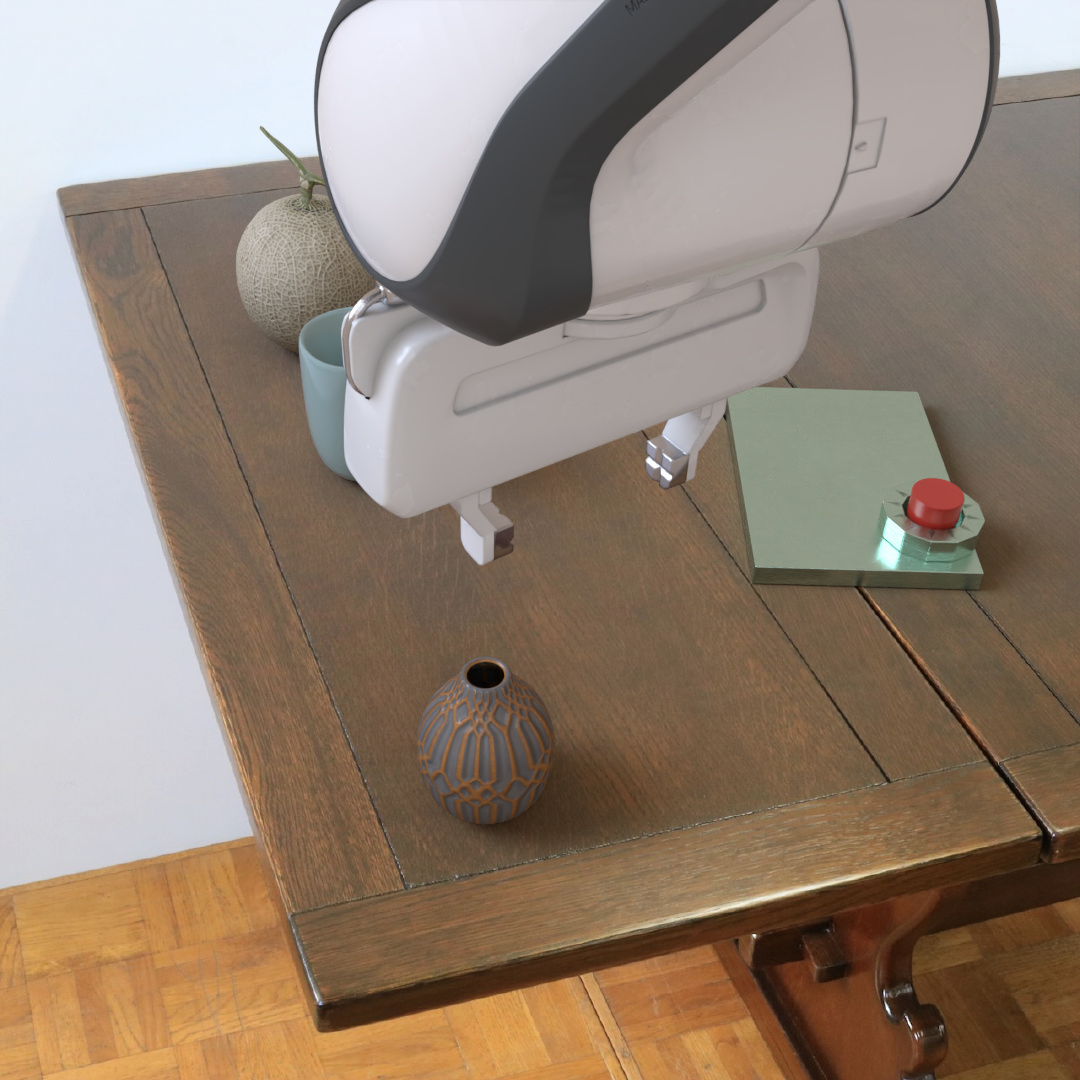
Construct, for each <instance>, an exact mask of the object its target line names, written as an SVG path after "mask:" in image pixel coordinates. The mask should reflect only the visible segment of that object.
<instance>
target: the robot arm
mask: <svg viewBox="0 0 1080 1080" xmlns="http://www.w3.org/2000/svg"><path fill="white" fill-rule="evenodd" d="M1000 63H1001V29H1000V17H999V10H998V4H997V0H339V2H338V4H337V6H336V8H335V10H334V12H333V14H332V15H331V18H330V20H329V23H328V26H327V27H326V30H325V32H324V35H323V38H322V40H321V44H320V46H319V50H318V56H317V60H316V67H315V74H314V87H313V119H314V121H313V122H314V130H315V131H314V132H315V141H316V148H317V154H318V160H319V164H320V170H321V175H322V179H324V183H325V186H324V188H325V190H326V193H327V196H328V197H329V200H330V203H331V206H332V210H333V212H334V215H335V217H336V220H337V222H338V224H339V227H340V229H341V231H342V233H343V235H344V237H345V239H346V241H347V243H348V245H349V247H350V248H351V250H352V252H353V253H354V255H355V256H356V258H357V259H358V261H359V262H360V264H361V265H362V266H363V267H364V269H365V270H366V271H367V272H368V273H369V274H370V275H371V276H372V277H373V278H374V279H375V280H376V284H375V289H373V290H371V291H370V292H368V293H367V294H365V295H364V296H363V297H362V298H361V299H360V300H359V301H358V302H357V303H356V304H355V306H354V307H353V308H352V310H351V311H350V312H348V313H347V314H346V315H345V317H344V320H343V323H342V328H341V340H342V353H343V365H344V369H345V374H346V377H347V383H346V393H345V409H344V454H345V461H346V464H347V467H348V469H349V470H350V472H351V474H352V475H353V477H354V478H355V480H356V481H355V482H357V483H358V485H359V486H360V487H361V489H362V490H363V491H364V492H365V493H366V494H367V495H368V496H369V498H371V499H372V500H373V501H374V503H376V504H378V505H379V506H380V507H381V508H383V509H384V510H386V511H387V512H389V513H391V514H393V515H394V516H396V517H398V518H400V519H410V518H414V517H417V516H420V515H422V514H426V513H427V512H431V511H433V510H436V509H438V508H440V507H443V506H446V505H450V506H451V507H452V508H453V510H454V511H455V512H456V513H457V514H458V515H459V516H460V541H461V544H462V546H463V548H464V550H465V552H466V553H468V555H469V556H470V557H471V558H472V560H474V561H475V563H476V564H478V565H479V566H484V565H486V564H487V565H488V564H489V563H491V562H494V561H496V560H498V559H501V558H503V557H506V556H508V555H510V554H512V553H513V552H514V547H515V545H514V543H512V541H513V539H514V538H515V524H514V523H513V522H512V521H511V520H510V518H509V517H507V515H505V514H502V513H500V508H499V507H498V506H497V505H496V504H494V502H493V501H492V499H493V487H496V486H499V485H502V484H503V483H507V482H509V481H512V480H514V479H517V478H520V477H523V476H525V475H527V474H530V473H532V472H535V471H538V470H541V469H543V468H544V469H545V468H547V467H549V466H551V465H554V464H556V463H560V462H562V461H564V460H567V459H571V458H572V457H576V456H577V455H581V454H584V453H586V452H589V451H591V450H593V449H596V448H599V447H601V446H604V445H606V444H609V443H612V442H615V441H617V440H620V439H623V438H625V437H628V436H630V435H633V434H636V433H638V432H641V431H644V430H646V429H649V428H651V427H652V428H653V427H654V426H657V425H660V424H662V423H665V422H666V423H665V427H664V428H663V430H662V432H661V434H660V435H657V436H655V437H653V438H651V439H648V440H647V441H646V450H645V454H646V455H647V457H646V459H645V461H644V470H645V472H646V474H647V476H648V477H649V479H650V480H651V481H653V482H658V486H659V488H661V489H662V490H663V491H665V490H669V489H671V488H675V487H677V486H680V485H682V484H685V483H687V482H690V481H692V480H694V479H695V478H696V473H697V467H698V459H699V451H701V450H702V449H703V448H704V446H705V444H706V443H707V441H708V440H709V438H710V437H711V435H712V433H713V432H714V430H715V429H716V428H717V426H718V425H719V423H720V421H721V419H722V418H723V417H724V416H725V409H726V403H727V398H728V397H731V396H733V395H736V394H739V393H741V392H744V391H747V390H749V389H752V388H754V387H761V386H763V385H765V384H767V383H770V382H773V381H776V380H779V379H781V378H783V377H785V376H786V375H788V373H789V372H790V371H791V369H792V368H793V367H794V366H795V364H796V363H797V361H798V360H799V359H800V358H801V356H802V355H803V353H804V351H805V349H806V347H807V344H808V341H809V337H810V332H811V328H812V325H813V320H814V319H813V318H814V313H815V308H816V302H817V294H818V287H819V278H820V270H821V255H820V251H819V247H824V246H828V245H832V244H834V243H835V244H836V243H839V242H842V241H846V240H849V239H852V238H856V237H860V236H862V235H866V234H869V233H873V232H875V231H878V230H881V229H885V228H887V227H890V226H892V225H896V223H899V222H901V221H903V220H905V219H908V218H912V217H913V218H914V217H916V216H918V215H921V214H924V213H926V212H927V211H929V210H930V209H932V208H934V207H936V205H938V204H939V203H940V202H941V201H943V199H945V198H946V197H947V195H948V194H950V192H951V191H952V190H953V189H954V188H955V186H956V185H957V184H958V182H959V181H960V180H961V178H962V176H963V175H964V173H965V172H966V170H967V169H968V167H969V166H970V164H971V163H972V161H973V159H974V157H975V155H976V153H977V150H978V148H979V147H980V144H981V142H982V140H983V137H984V136H985V135H984V134H985V132H986V129H987V127H988V124H989V121H990V117H991V115H992V111H993V106H994V102H995V98H996V95H997V94H996V93H997V87H998V81H999V75H1000V65H1001V64H1000ZM377 301H378V303H376V304H374V303H375V302H377ZM379 301H380V302H379Z"/></svg>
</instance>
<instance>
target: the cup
mask: <svg viewBox="0 0 1080 1080" xmlns="http://www.w3.org/2000/svg"><path fill="white" fill-rule="evenodd" d="M352 308H353V307H346V308H341V309H337V310H333V311H329V312H327V313H324V314H321V315H319V316H317V317H315V318H313V319H312V320H310V321H309V322H308V323H307V324H305V326H304V327H303V329H302V330H301V332H300V336H299V341H298V347H299V353H298V358H299V367H300V368H299V370H300V377H301V378H300V379H301V385H302V393H303V402H304V408H305V409H304V410H305V414H306V419H307V424H308V430H309V433H310V438H311V440H312V443H313V445H314V448H315V450H316V452H317V454H318V456H319V458H320V459H321V461H322V462H323V463H324V464H325V466H326V467H327V468H328V469H329V471H331V472H333V473H334V474H335V475H337V476H339V477H340V478H342V479H344V480H348V481H352V482H357V481H356V480H355V478H354V477H353V475H352V474H351V472H350V470H349V469H348V467H347V464H346V461H345V454H344V409H345V393H346V383H347V377H346V374H345V369H344V365H343V353H342V340H341V328H342V323H343V320H344V317H345V315H346V314H347V313H348V312H350V311H351V310H352Z"/></svg>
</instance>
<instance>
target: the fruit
mask: <svg viewBox="0 0 1080 1080" xmlns="http://www.w3.org/2000/svg"><path fill="white" fill-rule="evenodd" d="M259 130H260V131H261V133H262V134H263V135H264V136H265V137H266V138H267V139H268V140H269V141H270V142H271V143H272V144H273V146H275V147H276V148H277V149H278V150H279V151H280V152H281V154H283V155H284V156H285V157H286V158H287V159H288V160H289V162H290V163H291V164H292V165H293V166H294V168H295V169H296V171H297V173H298V176H299V184H300V193H295V194H292V195H287V196H284V197H281V198H278V199H276V200H274V201H272V202H270V203H268V204H266V205H265V206H263V207H262V208H261V209H260V210H259V211H258V212H257V213H256V214H255V215H254V217H253V218H252V219H251V221H249V223H248V224H247V226H246V227H245V230H244V232H243V233H242V235H241V237H240V241H239V243H238V246H237V248H236V254H235V255H236V256H235V276H236V284H237V289H238V292H239V297H240V299H241V302H242V305H243V307H244V309H245V311H246V313H247V316H248V317H249V319H250V320H251V322H252V323H253V324H254V325H255V326H256V328H257V329H258V330H259V332H261V333H262V335H264V336H265V337H266V338H267V339H268V340H270V341H271V342H273V343H274V344H275V345H278V346H279V347H281V348H283V349H285V350H288V351H290V352H294V353H296V354H299V347H298V341H299V336H300V332H301V330H302V329H303V327H304V326H305V324H307V323H308V322H309V321H310V320H312V319H313V318H315V317H317V316H319V315H321V314H324V313H327V312H329V311H333V310H337V309H341V308H346V307H354V306H355V304H356V303H357V302H358V301H359V300H360V299H361V298H362V297H363V296H364V295H365V294H367V293H368V292H370V291H371V290H373V289H375V284H376V280H375V279H374V278H373V277H372V276H371V275H370V274H369V273H368V272H367V271H366V270H365V269H364V267H363V266H362V265H361V264H360V262H359V261H358V259H357V258H356V256H355V255H354V253H353V252H352V250H351V248H350V247H349V245H348V243H347V241H346V239H345V237H344V235H343V233H342V231H341V229H340V227H339V224H338V222H337V220H336V217H335V215H334V212H333V210H332V206H331V203H330V200H329V197H328V195H325V194H318V193H313V191H314V187H315V185H320V186H323V187H325V183H324V179H323V177H320V176H318V175H316V174H315V173H313V172H312V171H311V170H309V169H308V168H307V167H306V166H305V165H304V163H303V162H302V160H300V159H299V157H298V156H297V155H295V154H294V153H293V152H292V151H291V150H290V149H289V148H288V147H287V146H286V145H284V144H283V143H282V142H281V141H280V140H278V139H277V138H276V137H275V136H274V135H272V134H271V133H270V132H269V131H268V130H267V129H266V128H265V127H264V126H262V125H260V126H259ZM376 303H379V301H377V302H375V303H374V304H376Z"/></svg>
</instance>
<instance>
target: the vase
mask: <svg viewBox="0 0 1080 1080" xmlns="http://www.w3.org/2000/svg"><path fill="white" fill-rule="evenodd" d="M552 722H553V721H552V719H551V716H550V713H549V710H548V708H547V707H546V704H545V702H544V701H543V699H542V697H541V696H540V695H539V693H538V692H537V691H536V690H535V689H534V687H532V686H531V685H530V684H529V683H528V682H527V681H525V680H524V679H523V678H521V677H520V676H518V675H517V674H515V673H513V672H512V670H511V668H510V667H509V665H508V664H507V663H506V662H505V661H503V660H501V659H500V658H497V657H493V656H479V657H478V656H477V657H475V658H472V659H470V660H468V661H467V662H466V663H465V664H464V665H463V666H462V668H461V669H460V671H459V673H457V674H456V675H454V676H452V677H451V678H450V679H448V680H447V681H446V682H444V683H442V684H441V686H440V687H439V688H438V689H437V690H436V691H435V692H434V693H433V695H432V696H431V697H430V699H429V700H428V702H427V704H426V706H425V708H424V710H423V713H422V714H421V717H420V721H419V724H418V729H417V735H416V759H417V764H418V769H419V774H420V776H421V779H422V781H423V783H424V786H425V788H426V790H427V791H428V793H429V794H430V796H431V797H432V799H433V800H434V801H435V802H436V804H437V805H438V806H439V807H440V808H441V809H442V810H444V811H445V812H446V813H448V814H449V815H450V816H453V817H454V818H457V819H459V820H461V821H464V822H466V823H470V824H475V825H495V824H501V823H505V822H507V821H510V820H512V819H514V818H517V817H518V816H520V815H522V814H524V812H526V811H527V810H528V809H530V808H531V807H532V806H533V805H534V804H535V802H537V800H538V799H539V798H540V796H541V795H542V793H543V792H544V790H545V788H546V786H547V784H548V782H549V779H550V777H551V774H552V771H553V766H554V761H555V752H556V737H555V730H554V725H553V723H552Z"/></svg>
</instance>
